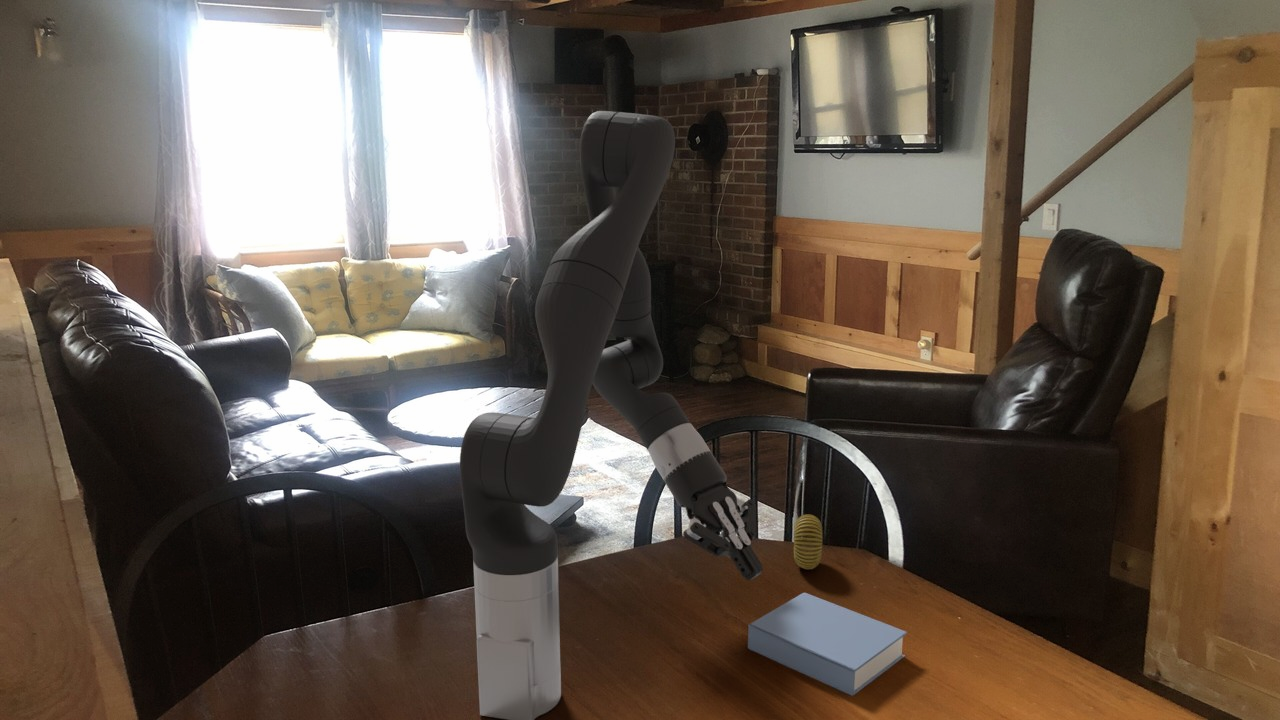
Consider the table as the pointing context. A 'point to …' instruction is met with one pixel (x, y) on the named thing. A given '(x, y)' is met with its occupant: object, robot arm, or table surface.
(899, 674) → the table surface
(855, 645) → the book
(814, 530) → the sculpture
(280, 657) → the table surface
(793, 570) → the table surface
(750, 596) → the table surface
